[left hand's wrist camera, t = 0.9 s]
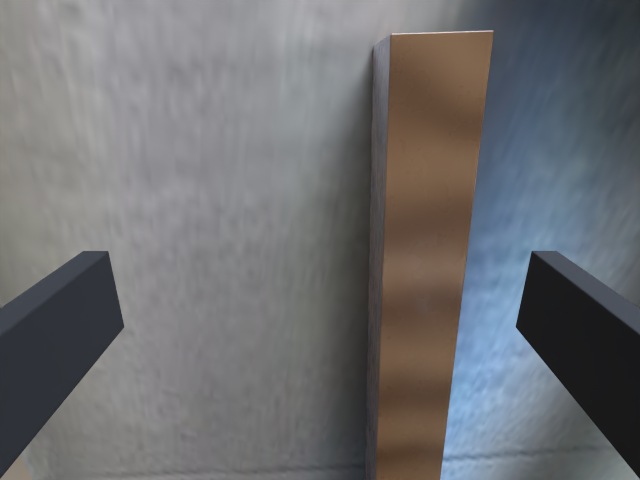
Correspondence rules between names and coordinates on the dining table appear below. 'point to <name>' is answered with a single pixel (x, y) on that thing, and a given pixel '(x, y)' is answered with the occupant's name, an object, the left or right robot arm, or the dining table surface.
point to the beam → (419, 239)
